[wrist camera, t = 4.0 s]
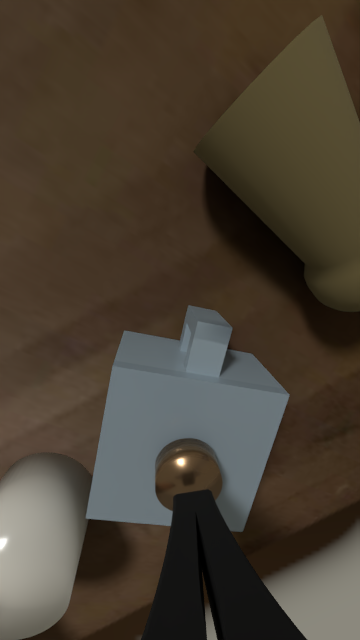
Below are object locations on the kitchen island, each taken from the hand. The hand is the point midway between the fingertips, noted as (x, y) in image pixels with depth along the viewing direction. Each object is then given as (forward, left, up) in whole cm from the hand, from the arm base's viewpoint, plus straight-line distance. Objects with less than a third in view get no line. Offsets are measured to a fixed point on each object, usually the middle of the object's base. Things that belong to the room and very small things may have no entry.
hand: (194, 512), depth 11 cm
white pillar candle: (+7, +8, -8) cm, 13 cm away
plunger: (0, 0, -7) cm, 7 cm away
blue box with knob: (0, -1, -8) cm, 8 cm away
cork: (+1, -16, -5) cm, 17 cm away
